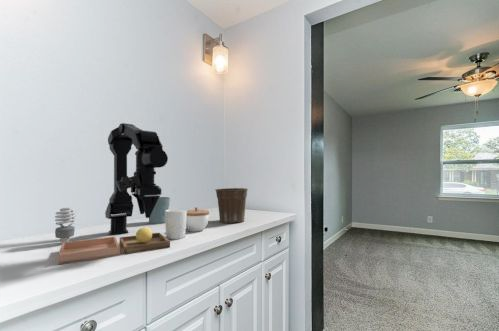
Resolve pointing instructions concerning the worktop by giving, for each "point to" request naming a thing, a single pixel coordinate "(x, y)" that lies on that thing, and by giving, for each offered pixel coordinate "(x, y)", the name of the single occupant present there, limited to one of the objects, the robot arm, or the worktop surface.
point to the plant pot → (231, 204)
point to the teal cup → (159, 211)
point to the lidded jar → (197, 219)
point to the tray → (133, 246)
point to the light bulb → (65, 231)
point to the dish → (88, 250)
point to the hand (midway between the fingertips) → (144, 215)
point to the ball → (143, 235)
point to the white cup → (175, 223)
